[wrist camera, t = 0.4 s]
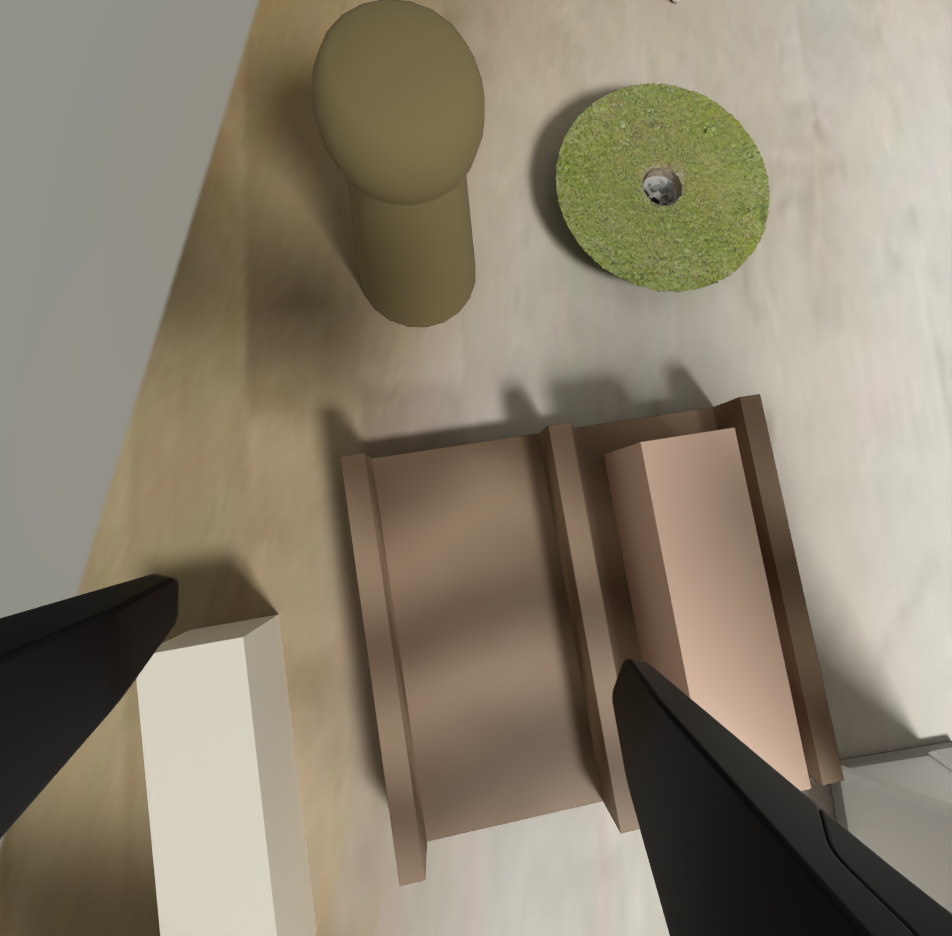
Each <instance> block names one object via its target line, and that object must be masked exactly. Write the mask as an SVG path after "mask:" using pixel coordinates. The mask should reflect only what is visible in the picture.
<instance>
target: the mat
mask: <svg viewBox="0 0 952 936" xmlns="http://www.w3.org/2000/svg"><path fill="white" fill-rule="evenodd" d="M583 112H584V113H582V114H580V115H579V116H578V117H577V119H576V120H575V121H574V122H573V125H572V126H571V127H570V128H569V130H568V132H567V134H566V137H564V139H563V144H562V145H561V148H560V151H559V153H558V154H559V157H558V159H557V160H558V162H557V164H556V170H557V171H556V191H557V196H558V203H559V204H560V206H559V207H560V209H561V211H562V214H563V217H564V220H565V221H566V223H567V226H568V228H569V229H570V231H571V233H572V234H573V236H574V237H575V239H576V240H577V242H578V244H579V245H580V246H581V247H582V248H583V249H584V251H585V252H587V254H588V255H589V256H590V257H592V258H593V259H594V261H595V262H597V263H598V264H599V265H600V266H602V268H603V269H605V270H607V271H609V272H610V273H614V275H615V276H617V277H619V278H621V279H624V280H627V281H629V282H631V283H632V284H634V285H637V286H642V287H647V288H648V289H651V290H657V291H662V290H663V292H664V291H674V292H681V291H686V290H693V289H698V288H702V287H705V286H708V285H711V284H714V283H718V280H721V279H724V278H725V277H727V276H730V275H731V273H732V272H735V271H736V270H737V269H738V268H739V267H740V266H741V265H742V264H743V263H744V262H745V261H746V260H747V257H748V256H750V255H751V254H752V253H753V251H754V250H755V249H756V247H757V244H758V243H759V241H760V240H761V237H762V234H763V232H764V231H763V230H764V229H765V224H766V221H767V217H768V213H769V212H768V208H769V198H770V197H769V189H768V188H769V186H768V181H769V180H768V176H767V174H766V169H765V167H764V163H763V159H762V157H761V156H760V152H759V151H758V148H757V146H756V145H755V144H754V142H753V140H752V138H751V137H750V136H749V134H748V133H747V132H746V131H745V129H743V127H742V126H741V124H740V122H739V121H738V120H736V119H735V118H734V117H733V115H731V114H729V113H728V112H727V111H726V110H725V109H724V108H723V107H721V106H720V105H719V104H717V103H716V102H714V101H712V100H710V99H708V98H707V97H706V96H704V95H701V94H700V93H698V92H694V91H688V90H687V89H686V90H685V89H683V88H680V87H677V86H673V85H667V84H659V85H657V84H655V83H654V84H640V85H639V86H638V85H633V86H629V87H626V88H622V89H619V90H618V91H617V90H615V91H614V92H611V93H609V94H608V95H606V96H604V97H602V98H600V99H598V100H596V101H595V102H594V103H593V104H592V105H591V107H588V108H587V109H586V110H584V111H583Z"/></svg>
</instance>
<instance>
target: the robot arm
mask: <svg viewBox="0 0 952 936" xmlns="http://www.w3.org/2000/svg"><path fill="white" fill-rule="evenodd" d="M178 597H179V584H178V580H177V579H176V578H175V577H170V576H165V575H159V574H151V575H148V576H144V577H141V578H137V579H134V580H130V581H127V582H124V583H120V584H117V585H113V586H110V587H106V588H103V589H99V590H96V591H93V592H89V593H86V594H82V595H79V596H75V597H72V598H69V599H66V600H62V601H58V602H55V603H52V604H48V605H45V606H41V607H38V608H35V609H31V610H27V611H24V612H20V613H17V614H14V615H11V616H7V617H3V618H0V839H1V837H2V836H3V835H4V834H5V833H6V832H7V830H8V829H9V828H10V827H11V826H12V825H13V824H14V822H15V821H16V820H17V819H18V818H19V817H20V815H21V814H22V813H23V812H24V811H25V810H26V809H27V807H28V806H29V805H30V804H31V803H32V802H33V800H34V799H35V798H36V797H37V796H38V795H39V794H40V792H41V791H42V790H43V789H44V788H45V787H46V785H47V784H48V783H49V782H50V781H51V780H52V779H53V777H54V776H55V775H56V774H57V773H58V772H59V771H60V769H61V768H62V767H63V766H64V765H65V764H66V762H67V761H68V760H69V759H70V758H71V757H72V756H73V754H74V753H75V752H76V751H77V750H78V749H79V747H80V746H81V745H82V744H83V743H84V742H85V741H86V739H87V738H88V737H89V736H90V735H91V734H92V732H93V731H94V730H95V729H96V728H97V727H98V726H99V724H100V723H101V722H102V721H103V720H104V719H105V717H106V716H107V715H108V714H109V713H110V712H111V710H112V709H113V708H114V707H115V706H116V704H117V703H118V702H119V701H120V700H121V698H122V697H123V696H124V694H125V693H126V692H127V690H128V689H129V688H130V687H131V685H132V684H133V682H134V681H135V680H136V678H137V677H138V675H139V674H140V673H141V671H142V670H143V668H144V667H145V666H146V664H147V663H148V661H149V660H150V659H151V657H152V656H153V655H154V653H155V652H156V650H157V649H158V648H159V646H160V645H161V643H162V642H163V641H164V639H165V638H166V636H167V635H168V634H169V632H170V631H171V629H172V628H173V626H174V625H175V623H176V620H177V617H178ZM612 703H613V709H614V714H615V720H616V725H617V731H618V736H619V742H620V748H621V753H622V759H623V764H624V770H625V774H626V779H627V784H628V787H629V791H630V795H631V799H632V802H633V806H634V809H635V813H636V817H637V820H638V824H639V827H640V831H641V834H642V838H643V841H644V845H645V849H646V852H647V856H648V859H649V863H650V866H651V870H652V873H653V877H654V881H655V884H656V888H657V891H658V895H659V898H660V902H661V905H662V909H663V913H664V916H665V920H666V923H667V927H668V930H669V934H670V936H952V913H951V912H949V911H948V910H947V909H946V908H944V907H943V906H942V905H940V904H939V903H938V902H936V901H935V900H934V899H933V898H931V897H930V896H929V895H928V894H926V893H925V892H924V891H922V890H921V889H920V888H919V887H917V886H916V885H915V884H914V883H912V882H911V881H910V880H908V879H907V878H906V877H905V876H903V875H902V874H901V873H900V872H898V871H897V870H896V869H894V868H893V867H892V866H891V865H889V864H888V863H887V862H886V861H884V860H883V859H882V858H881V857H879V856H878V855H877V854H876V853H875V852H873V851H872V850H871V849H870V848H869V847H867V846H866V845H865V844H864V843H862V842H861V841H860V840H859V839H858V838H856V837H855V836H854V835H853V834H851V833H850V832H849V831H848V830H847V829H845V828H844V827H843V826H842V825H841V824H839V823H838V822H837V821H836V820H835V819H834V818H832V817H831V816H830V815H829V814H828V813H827V812H825V811H824V810H822V809H819V808H818V806H817V804H816V803H814V802H813V801H812V800H811V799H810V798H808V797H807V796H806V795H805V794H804V793H803V792H801V791H800V790H799V789H798V788H797V787H795V786H794V785H793V784H792V783H791V782H789V781H788V780H787V779H786V778H785V777H783V776H782V775H781V774H780V773H779V772H778V771H776V770H775V769H774V768H773V767H772V766H770V765H769V764H768V763H767V762H766V761H764V760H763V759H762V758H761V757H760V756H758V755H757V754H756V753H755V752H754V751H753V750H751V749H750V748H749V747H748V746H747V745H745V744H744V743H743V742H742V741H741V740H739V739H738V738H737V737H736V736H735V735H733V734H732V733H731V732H730V731H729V730H728V729H726V728H725V727H724V726H723V725H722V724H720V723H719V722H718V721H717V720H716V719H714V718H713V717H712V716H711V715H710V714H708V713H707V712H706V711H705V710H704V709H703V708H701V707H700V706H699V705H698V704H697V703H695V702H694V701H693V700H692V699H691V698H689V697H688V696H687V695H686V694H685V693H684V692H682V691H681V690H680V689H679V688H678V687H676V686H675V685H674V684H673V683H672V682H670V681H669V680H668V679H667V678H666V677H664V676H663V675H662V674H661V673H660V672H659V671H657V670H656V669H655V668H654V667H653V666H651V665H650V664H649V663H648V662H646V661H643V660H637V659H632V658H627V659H625V660H624V662H623V664H622V666H621V669H620V672H619V674H618V677H617V680H616V683H615V686H614V688H613V693H612Z"/></svg>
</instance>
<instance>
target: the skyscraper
mask: <svg viewBox="0 0 952 936" xmlns="http://www.w3.org/2000/svg"><path fill="white" fill-rule="evenodd" d="M840 763H841V767H842V772H843V777H844V781H840V782H835V783H831V784H830V785H831V791H832V796H833V802H834V808H835V814H836V820H837V822H838V823H839V824H841V825H842V826H843V827H844V828H845V829H847V830H848V831H849V832H850V833H851V834H853V835H854V836H855V837H856V838H858V839H859V840H860V841H861V842H862V843H864V844H865V845H866V846H867V847H869V848H870V849H871V850H872V851H873V852H875V853H876V854H877V855H878V856H879V857H881V858H882V859H883V860H884V861H886V862H887V863H888V864H889V865H891V866H892V867H893V868H894V869H896V870H897V871H898V872H900V873H901V874H902V875H903V876H905V877H906V878H907V879H908V880H910V881H911V882H912V883H914V884H915V885H916V886H917V887H919V888H920V889H921V890H922V891H924V892H925V893H926V894H928V895H929V896H930V897H931V898H933V899H934V900H935V901H936V902H938V903H939V904H940V905H942V906H943V907H944V908H946V909H947V910H948V911H949V912H951V913H952V741H950V742H944V743H938V744H932V745H926V746H920V747H914V748H909V749H903V750H897V751H891V752H885V753H879V754H873V755H868V756H862V757H856V758H850V759H844V760H840Z"/></svg>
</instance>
